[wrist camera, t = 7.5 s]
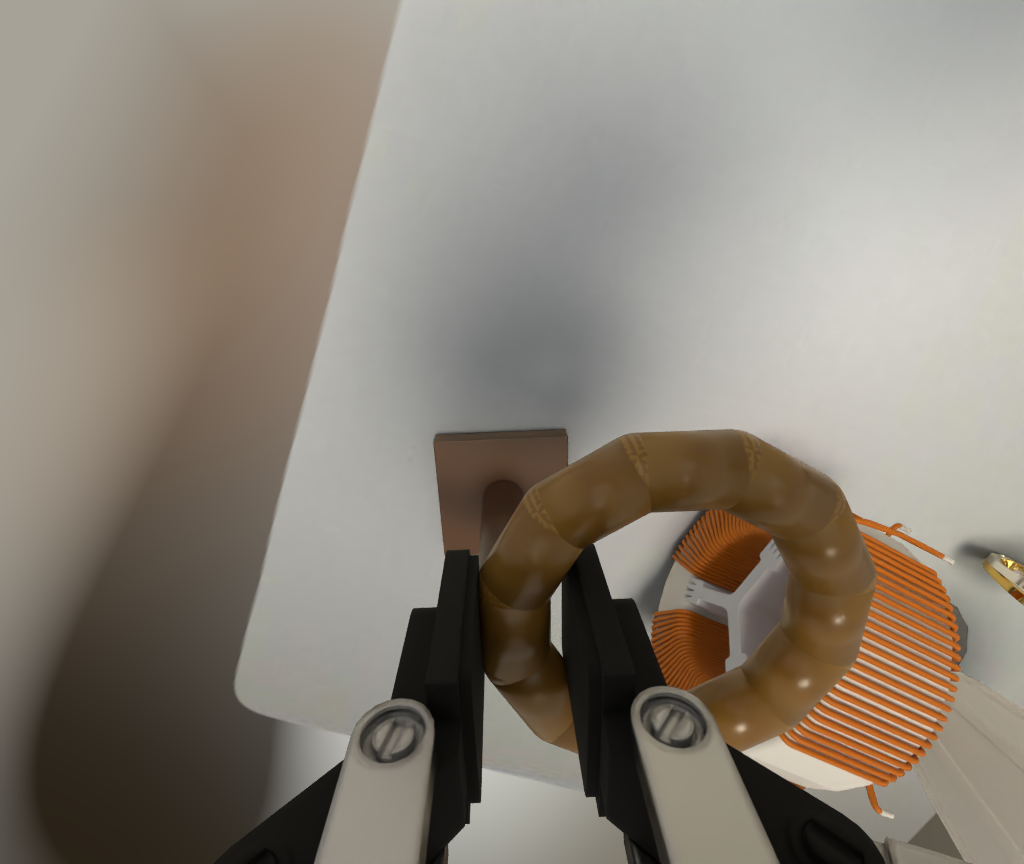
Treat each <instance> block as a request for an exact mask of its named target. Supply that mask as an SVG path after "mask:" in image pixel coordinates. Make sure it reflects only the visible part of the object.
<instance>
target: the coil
mask: <svg viewBox="0 0 1024 864" xmlns="http://www.w3.org/2000/svg"><path fill="white" fill-rule="evenodd" d="M853 516H854V518H855V520H856V523H857V525H858V527H859V530H860V532H861V534H862V537H863V539H864V541H865V544H866V546H867V548H868V550H869V553H870V555H871V557H872V560H873V562H874V565H875V568H876V573H877V580H876V587H875V591H874V595H873V599H872V602H871V606H870V610H869V614H868V618H867V622H866V626H865V630H864V634H863V638H862V642H861V646H860V650H859V654H858V657H857V660H856V662H855V664H854V665H853V666H852V668H851V669H850V670H849V671H848V672H847V673H846V674H845V675H844V676H843V677H842V678H841V680H840V681H839V682H838V683H837V684H836V685H835V686H834V687H833V688H832V689H831V690H830V691H829V692H828V693H827V694H826V695H825V696H824V697H823V699H822V700H821V701H820V702H819V703H818V704H817V705H816V706H815V707H814V708H813V709H812V710H811V711H810V712H809V713H808V714H807V715H806V717H805V718H804V719H803V720H802V721H801V722H800V723H799V724H798V725H797V726H796V727H795V728H793V729H792V730H790V731H788V732H785V733H783V734H781V735H778V736H776V737H774V738H772V739H769V740H767V741H765V742H763V743H760V744H758V745H756V746H754V747H751V748H749V749H747V750H745V751H742V753H743V754H745V755H747V756H748V757H750V758H751V759H753V760H755V761H756V762H758V763H760V764H761V765H763V766H765V767H766V768H768V769H770V770H771V771H773V772H774V773H776V774H778V775H779V776H781V777H783V778H784V779H786V780H788V781H789V782H791V783H792V784H794V785H796V786H797V787H799V788H801V789H802V790H803V789H805V788H813V789H822V790H830V791H842V790H847V789H852V788H857V787H862V786H866V789H867V793H868V796H869V800H870V802H871V805H872V807H873V809H874V810H875V811H876V812H877V813H878V814H881V815H883V816H885V817H888V818H890V819H893V818H894V814H893V813H892V812H889V811H887V810H884V809H882V808H880V807H879V806H878V803H877V799H876V796H875V792H874V789H873V785H872V783H875V784H878V785H880V786H883V787H885V786H887V785H888V784H889V781H890V782H895V781H896V779H897V776H898V777H903V776H904V774H905V772H904V770H906V771H910V770H911V769H912V765H911V763H912V764H918V763H919V758H918V756H920V757H925V756H926V752H925V750H924V749H923V747H924V748H927V749H931V748H932V744H931V742H930V741H929V740H928V739H927V738H929V739H931V740H935V741H936V740H938V736H937V735H936V733H935V732H933V729H934V730H937V731H940V732H941V731H943V727H942V726H941V725H940V724H939V723H938V722H936V721H937V719H938V720H940V721H942V722H947V721H948V719H947V717H946V716H945V715H943V714H942V713H940V711H941V709H942V710H944V711H946V712H951V711H952V709H951V707H949V706H947V705H946V704H944V701H945V700H946V701H949V702H954V701H955V698H954V697H953V696H951V695H949V694H948V692H949V691H951V692H957V690H958V689H957V687H956V686H954V685H952V684H950V681H952V682H958V681H959V677H958V676H957V675H955V674H953V673H951V671H953V672H959V671H960V670H961V668H960V666H959V665H957V664H955V663H953V662H958V661H960V660H961V657H960V655H958V654H957V653H955V652H958V651H960V649H961V647H960V645H959V644H957V643H956V642H957V641H959V640H960V636H959V635H958V634H957V633H955V632H956V631H957V630H958V626H957V624H955V623H954V622H955V621H956V616H955V615H954V614H953V613H952V612H953V606H952V605H951V604H949V602H950V598H949V596H947V595H946V589H945V588H944V587H943V586H942V581H941V580H940V579H939V578H938V577H937V573H936V572H935V571H934V570H932V569H930V568H929V567H927V566H925V565H923V564H922V563H921V562H920V561H919V560H918V559H917V558H916V557H915V556H914V555H913V554H912V553H911V552H910V551H909V550H908V549H907V548H906V547H905V546H904V545H903V544H902V543H900V542H898V541H896V540H894V539H893V538H891V537H890V536H891V535H895V536H898V537H900V538H902V539H903V540H905V541H907V542H909V543H911V544H913V545H915V546H917V547H919V548H921V549H923V550H925V551H927V552H929V553H931V554H933V555H935V556H936V557H938V558H940V559H942V560H944V561H946V562H948V563H950V564H952V565H953V564H955V560H953V559H951V558H949V557H947V556H946V555H944V554H942V553H940V552H938V551H936V550H935V549H933V548H931V547H929V546H927V545H925V544H923V543H921V542H919V541H917V540H915V539H913V538H911V537H909V536H907V535H905V534H904V533H902V532H899V531H897V530H896V529H897V528H900V529H901V530H903V531H905V532H907V533H911V532H912V530H911V529H909V528H907V527H906V526H904V525H902V524H900V523H896V524H894V525H893V526H892V527H890V528H889V527H886V526H884V525H881V524H879V523H876V522H874V521H871V520H867V519H863V518H861V517H859V516H858V515H856V514H854V513H853ZM693 529H694V530H693ZM693 529H691V530H690V531H689V533H690V535H689V534H687V535H686V536H685V537H686V539H687V540H682V544H683V545H684V546H683V545H679V549H680V550H681V551H678V550H677V551H676V552H675V553H676V555H677V556H678V557H677V556H675V555H673V556H672V558H673V559H674V560H675V562H674V564H673V567H672V569H671V571H670V574H669V576H668V578H667V580H666V583H665V586H664V590H663V593H662V597H661V600H660V604H659V609H658V612H655V613H654V614H653V616H654V617H655V619H653V620H652V623H653V624H654V625H653V626H652V630H653V632H652V633H651V636H652V639H651V643H652V647H653V650H654V652H655V654H656V658H657V660H658V663H659V665H660V668H661V671H662V673H663V676H664V678H665V681H666V684H667V686H671V687H676V688H679V689H682V690H685V691H687V690H690V689H692V688H694V687H696V686H698V685H700V684H702V683H704V682H707V681H709V680H711V679H713V678H715V677H717V676H719V675H721V674H724V673H726V672H728V671H730V670H732V669H734V668H736V667H738V666H741V665H742V664H743V663H744V662H745V661H746V660H747V659H748V657H749V656H750V655H751V654H752V653H753V652H754V650H755V649H756V648H757V647H758V646H759V645H760V643H761V642H762V641H763V640H764V639H765V638H766V636H767V635H768V634H769V633H770V632H771V631H772V629H773V628H774V627H775V626H776V625H777V624H778V622H779V621H780V620H781V615H782V609H783V604H784V599H785V593H786V588H787V582H788V577H789V570H788V568H787V566H786V564H785V562H784V560H783V559H782V557H781V555H780V553H779V551H778V549H777V547H776V545H775V543H774V541H773V539H772V537H771V535H770V534H769V533H767V532H765V531H763V530H761V529H759V528H757V527H755V526H753V525H751V524H749V523H748V522H746V521H744V520H742V519H740V518H738V517H736V516H734V515H732V514H730V513H728V512H726V511H724V510H710V511H707V512H706V514H705V515H704V516H702V517H701V520H698V521H697V525H694V526H693ZM879 530H880V531H879ZM881 531H883V532H886V534H884V533H882V532H881ZM945 608H946V609H945ZM947 617H948V618H947ZM655 648H656V649H655ZM917 755H918V756H917ZM889 774H890V775H889ZM881 778H882V780H881Z"/></svg>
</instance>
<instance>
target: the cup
mask: <svg viewBox="0 0 1024 864" xmlns="http://www.w3.org/2000/svg"><path fill="white" fill-rule="evenodd" d="M949 604H950V603H949ZM951 605H952V604H951ZM952 606H953V612H952V613H953V614H954V615H955V616H956V621H955V622H954V623H955V624H957V626H958V630H957V631H956V632H955V633H957V634H958V635H959V636H960V640H959V641H957V642H956V643H957V644H959V645H960V647H961V649H960V651H958V652H955V653H957V654H958V655H960V657H961V660H960V661H958V662H953V663H955V664H957V665H959V664H960V662H961V661H962V659H963V657H964V655H965V653H966V650H967V635H968V627H967V625H966V623H965V621H964V619H963V618H962V616H961V614H960V612H959V610H958V608H957V607H955V606H954V605H952ZM945 609H946V608H945ZM947 618H948V617H947ZM951 673H953V674H955V675H957V676H958V677H959V681H958V682H952V681H950V684H952V685H954V686H956V687H957V689H958V690H957V692H951V691H949V692H948V694H949V695H951V696H953V697H954V698H955V701H954V702H949V701H946V700H945V701H944V704H946V705H947V706H949V707H951V709H952V711H951V712H946V711H944V710H942V709H941V711H940V713H942V714H943V715H945V716H946V717H947V719H948V721H947V722H942V721H940V720H938V719H937V721H936V722H938V723H939V724H940V725H941V726H942V727H943V731H941V732H940V731H937V730H934V729H933V732H935V733H936V735H937V736H938V740H936V741H935V740H931V739H929V738H927V739H928V740H929V741H930V742H931V744H932V748H931V749H927V748H924V747H923V749H924V750H925V752H926V756H925V757H920V756H918V755H917V756H918V758H919V763H918V764H912V763H911V764H912V766H913V768H914V770H915V772H916V773H917V775H918V777H919V779H920V781H921V783H922V785H923V787H924V789H925V791H926V793H927V795H928V797H929V799H930V801H931V802H932V804H933V806H934V808H935V810H936V812H937V814H938V815H939V817H940V819H941V821H942V822H943V824H944V826H945V828H946V829H947V831H948V833H949V835H950V836H951V838H952V840H953V841H954V843H955V845H956V847H957V849H958V850H959V852H960V854H961V856H962V857H963V859H964V861H965V862H969V863H972V864H1024V710H1023V709H1021V708H1019V707H1018V706H1016V705H1015V704H1013V703H1012V702H1010V701H1009V700H1007V699H1006V698H1004V697H1002V696H1001V695H999V694H998V693H996V692H995V691H993V690H992V689H990V688H989V687H987V686H985V685H983V684H982V683H980V682H978V681H976V680H975V679H973V678H971V677H969V676H968V675H966V674H964V673H962V672H960V671H959V672H953V671H951Z"/></svg>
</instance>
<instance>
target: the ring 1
mask: <svg viewBox="0 0 1024 864" xmlns="http://www.w3.org/2000/svg"><path fill="white" fill-rule="evenodd" d="M701 510H724V511H726V512H728V513H730V514H732V515H734V516H736V517H738V518H740V519H742V520H744V521H746V522H748V523H749V524H751V525H753V526H755V527H757V528H759V529H761V530H763V531H765V532H767V533H769V534H770V535H771V537H772V539H773V541H774V543H775V545H776V547H777V549H778V551H779V553H780V555H781V557H782V559H783V560H784V562H785V564H786V566H787V568H788V570H789V577H788V582H787V588H786V593H785V599H784V604H783V609H782V615H781V620H780V621H779V622H778V624H777V625H776V626H775V627H774V628H773V629H772V631H771V632H770V633H769V634H768V635H767V636H766V638H765V639H764V640H763V641H762V642H761V643H760V645H759V646H758V647H757V648H756V649H755V650H754V652H753V653H752V654H751V655H750V656H749V657H748V659H747V660H746V661H745V662H744V663H743V664H742V665H741V666H738V667H736V668H734V669H732V670H730V671H728V672H726V673H724V674H721V675H719V676H717V677H715V678H713V679H711V680H709V681H707V682H704V683H702V684H700V685H698V686H696V687H694V688H692V689H690V690H687V692H689V693H690V694H692V695H694V696H696V697H697V698H698V699H700V700H701V701H702V702H703V703H704V704H705V705H706V706H707V707H708V709H709V710H710V712H711V714H712V715H713V717H714V719H715V721H716V723H717V725H718V728H719V730H720V732H721V734H722V736H723V739H724V741H725V743H727V744H729V745H730V746H732V747H733V748H735V749H737V750H738V751H740V752H742V751H745V750H747V749H749V748H751V747H754V746H756V745H758V744H760V743H763V742H765V741H767V740H769V739H772V738H774V737H776V736H778V735H781V734H783V733H785V732H788V731H790V730H792V729H793V728H795V727H796V726H797V725H798V724H799V723H800V722H801V721H802V720H803V719H804V718H805V717H806V715H807V714H808V713H809V712H810V711H811V710H812V709H813V708H814V707H815V706H816V705H817V704H818V703H819V702H820V701H821V700H822V699H823V697H824V696H825V695H826V694H827V693H828V692H829V691H830V690H831V689H832V688H833V687H834V686H835V685H836V684H837V683H838V682H839V681H840V680H841V678H842V677H843V676H844V675H845V674H846V673H847V672H848V671H849V670H850V669H851V668H852V666H853V665H854V664H855V662H856V660H857V657H858V654H859V650H860V646H861V642H862V638H863V634H864V630H865V626H866V622H867V618H868V614H869V610H870V606H871V602H872V599H873V595H874V591H875V587H876V580H877V573H876V568H875V565H874V562H873V560H872V557H871V555H870V553H869V550H868V548H867V546H866V544H865V541H864V539H863V537H862V534H861V532H860V530H859V527H858V525H857V523H856V520H855V518H854V516H853V513H852V511H851V509H850V506H849V504H848V502H847V500H846V497H845V495H844V493H843V491H842V490H841V488H840V487H839V486H838V485H837V484H836V483H835V482H834V481H833V480H832V479H831V478H829V477H828V476H826V475H824V474H822V473H821V472H819V471H817V470H815V469H813V468H812V467H810V466H808V465H806V464H804V463H802V462H801V461H799V460H797V459H795V458H793V457H792V456H790V455H788V454H786V453H784V452H783V451H781V450H779V449H777V448H775V447H773V446H772V445H770V444H768V443H766V442H764V441H763V440H761V439H759V438H757V437H755V436H753V435H752V434H749V433H747V432H744V431H740V430H733V429H724V430H697V431H671V432H645V433H630V434H626V435H623V436H620V437H619V438H616V439H615V440H613V441H611V442H609V443H608V444H606V445H604V446H602V447H601V448H599V449H597V450H595V451H594V452H592V453H590V454H588V455H586V456H585V457H583V458H581V459H579V460H578V461H576V462H574V463H572V464H571V465H569V466H567V467H565V468H564V469H562V470H560V471H558V472H556V473H555V474H553V475H551V476H549V477H548V478H546V479H544V480H542V481H541V482H539V483H537V484H536V485H534V486H533V487H531V488H530V489H529V490H528V492H527V493H526V494H525V496H524V497H523V499H522V500H521V502H520V504H519V505H518V507H517V509H516V510H515V512H514V514H513V515H512V517H511V518H510V520H509V522H508V523H507V525H506V527H505V528H504V530H503V532H502V533H501V535H500V537H499V538H498V540H497V542H496V543H495V545H494V547H493V548H492V550H491V552H490V553H489V555H488V557H487V558H486V560H485V562H484V563H483V565H482V567H481V569H480V571H479V574H478V598H479V614H480V629H481V644H482V659H483V669H484V671H485V674H486V675H487V677H488V678H489V680H490V681H491V682H492V683H493V685H494V686H495V687H496V688H497V689H498V691H499V692H500V693H501V694H502V695H503V697H504V698H505V699H506V700H507V701H508V703H509V704H510V705H511V706H512V707H513V709H514V710H515V711H516V712H517V713H518V715H519V716H520V717H521V718H522V719H523V721H524V722H525V723H526V724H527V726H528V727H529V728H530V729H531V730H532V732H533V733H534V734H535V735H536V736H538V737H539V738H540V739H542V740H544V741H546V742H548V743H550V744H553V745H556V746H558V747H561V748H564V749H566V750H569V751H572V752H574V753H577V754H578V748H577V742H576V735H575V729H574V723H573V717H572V710H571V704H570V698H569V691H568V685H567V674H566V666H565V660H564V658H563V657H562V656H561V654H560V653H559V652H558V650H557V649H556V648H555V646H554V645H553V644H552V642H551V597H552V595H553V594H554V592H555V591H556V589H557V588H558V586H559V585H560V583H561V582H562V580H563V579H564V577H565V576H566V574H567V573H568V571H569V570H570V568H571V567H572V565H573V564H574V562H575V561H576V559H577V558H578V556H579V555H580V553H581V552H582V550H583V549H584V548H585V547H587V546H589V545H591V544H592V543H594V542H596V541H598V540H600V539H602V538H604V537H606V536H607V535H609V534H611V533H613V532H615V531H617V530H619V529H620V528H622V527H624V526H626V525H628V524H630V523H632V522H633V521H635V520H637V519H639V518H641V517H643V516H645V515H647V514H648V513H652V512H676V511H701Z"/></svg>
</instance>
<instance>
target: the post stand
mask: <svg viewBox="0 0 1024 864" xmlns="http://www.w3.org/2000/svg"><path fill="white" fill-rule="evenodd" d="M433 443H434V453H435V463H436V473H437V483H438V493H439V503H440V513H441V523H442V533H443V543H444V553H445V556H446V551H447V550H465V549H469V550H470V555H479V566H480V569H481V567H482V565H483V563H484V562H485V560H486V558H487V557H488V555H489V553H490V552H491V550H492V548H493V547H494V545H495V543H496V542H497V540H498V538H499V537H500V535H501V533H502V532H503V530H504V528H505V527H506V525H507V523H508V522H509V520H510V518H511V517H512V515H513V514H514V512H515V510H516V509H517V507H518V505H519V504H520V502H521V500H522V499H523V497H524V496H525V494H526V493H527V492H528V490H529V489H530V488H531V487H533V486H534V485H536V484H537V483H539V482H541V481H542V480H544V479H546V478H548V477H549V476H551V475H553V474H555V473H556V472H558V471H560V470H562V469H564V468H565V467H567V466H568V435H567V432H566V430H565V429H561V430H537V431H514V432H491V433H467V434H444V435H436V436H435V439H434V442H433Z"/></svg>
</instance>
